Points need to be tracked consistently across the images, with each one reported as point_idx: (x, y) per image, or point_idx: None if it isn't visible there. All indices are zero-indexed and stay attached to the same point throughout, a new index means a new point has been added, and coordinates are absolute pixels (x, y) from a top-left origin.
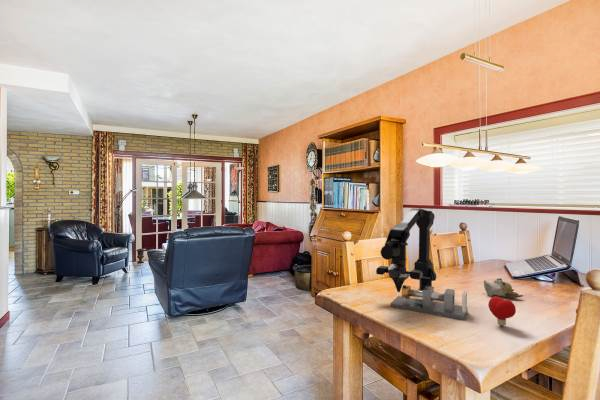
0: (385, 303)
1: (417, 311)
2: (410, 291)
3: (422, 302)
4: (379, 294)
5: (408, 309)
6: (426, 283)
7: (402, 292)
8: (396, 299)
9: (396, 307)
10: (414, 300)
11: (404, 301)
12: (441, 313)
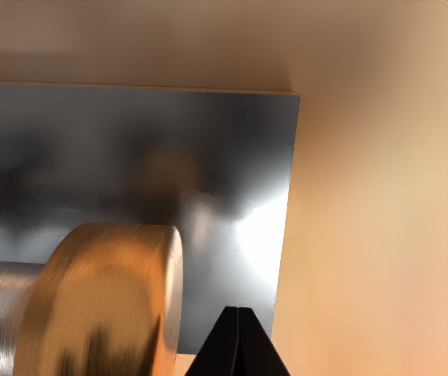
0: (362, 168)
1: (3, 81)
2: (23, 307)
3: None
4: (440, 371)
5: (94, 85)
6: None
7: (145, 249)
8: (262, 252)
9: (226, 89)
10: None
11: None
12: None
